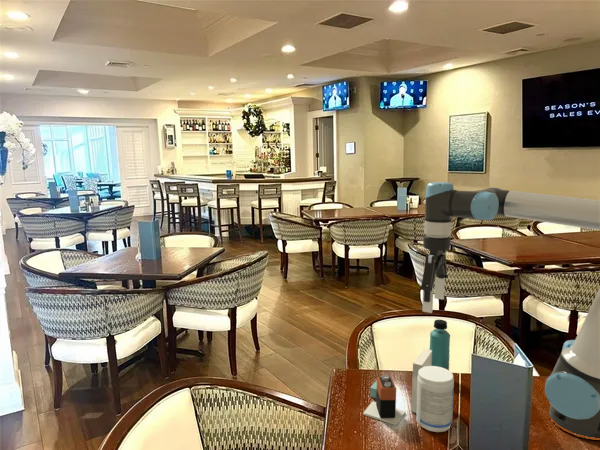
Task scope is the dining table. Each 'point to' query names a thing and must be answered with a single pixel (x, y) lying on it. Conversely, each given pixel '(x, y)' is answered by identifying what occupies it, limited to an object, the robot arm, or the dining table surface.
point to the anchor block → (373, 390)
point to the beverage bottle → (440, 344)
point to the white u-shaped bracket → (420, 362)
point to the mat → (374, 413)
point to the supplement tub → (435, 398)
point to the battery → (386, 397)
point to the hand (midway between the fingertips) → (433, 305)
